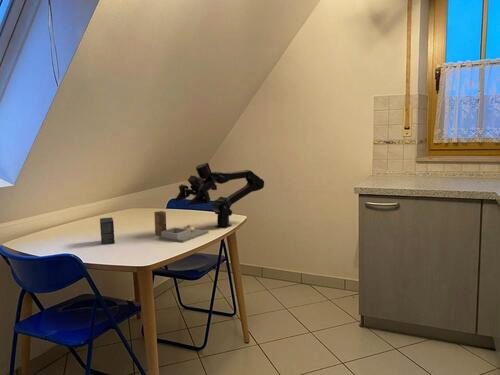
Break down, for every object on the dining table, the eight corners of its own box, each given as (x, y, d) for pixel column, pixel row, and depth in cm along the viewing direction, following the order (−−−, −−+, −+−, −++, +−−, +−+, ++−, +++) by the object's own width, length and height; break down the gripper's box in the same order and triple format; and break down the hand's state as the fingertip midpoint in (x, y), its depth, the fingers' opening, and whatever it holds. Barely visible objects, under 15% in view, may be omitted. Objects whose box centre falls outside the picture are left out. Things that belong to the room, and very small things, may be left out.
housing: (185, 229, 210) (185, 222, 209) (208, 232, 203) (208, 224, 202) (159, 238, 192) (158, 230, 192) (182, 242, 185) (182, 233, 185)
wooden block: (162, 232, 203) (161, 210, 202) (166, 234, 200) (165, 212, 199) (155, 234, 201) (154, 212, 200) (159, 235, 198) (158, 213, 196)
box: (101, 240, 190) (99, 218, 189) (114, 239, 192) (112, 217, 191) (101, 245, 183) (100, 221, 181) (114, 243, 185) (113, 220, 183)
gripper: (187, 169, 208) (164, 184, 198) (214, 175, 197) (190, 191, 187) (193, 188, 213) (170, 203, 204) (219, 195, 202) (196, 212, 192)
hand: (181, 202), depth 196 cm, fingers open, 9 cm apart
